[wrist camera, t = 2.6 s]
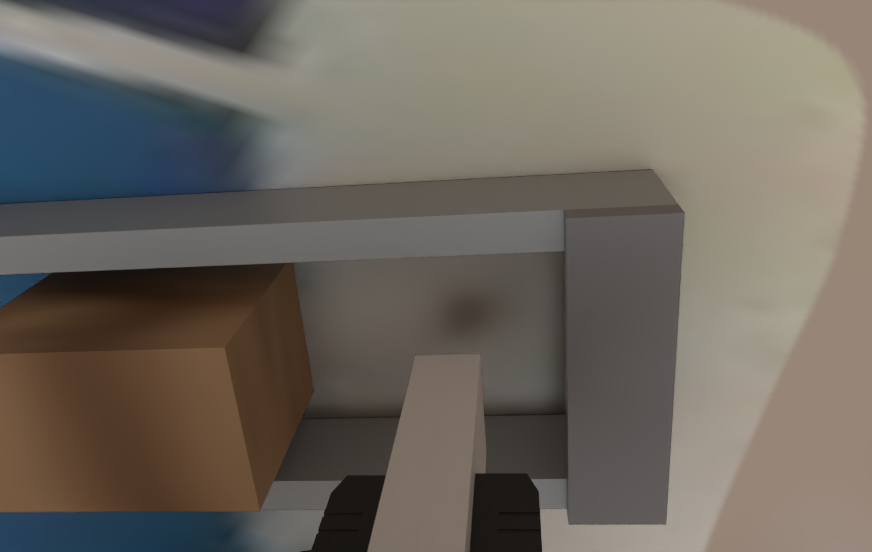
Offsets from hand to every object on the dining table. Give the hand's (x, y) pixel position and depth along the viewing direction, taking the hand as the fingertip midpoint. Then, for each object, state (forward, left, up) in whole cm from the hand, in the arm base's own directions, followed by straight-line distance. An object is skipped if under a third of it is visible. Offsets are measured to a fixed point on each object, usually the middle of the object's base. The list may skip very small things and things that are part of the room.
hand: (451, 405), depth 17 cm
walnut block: (-8, 0, -5) cm, 9 cm away
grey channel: (-5, 0, -4) cm, 7 cm away
